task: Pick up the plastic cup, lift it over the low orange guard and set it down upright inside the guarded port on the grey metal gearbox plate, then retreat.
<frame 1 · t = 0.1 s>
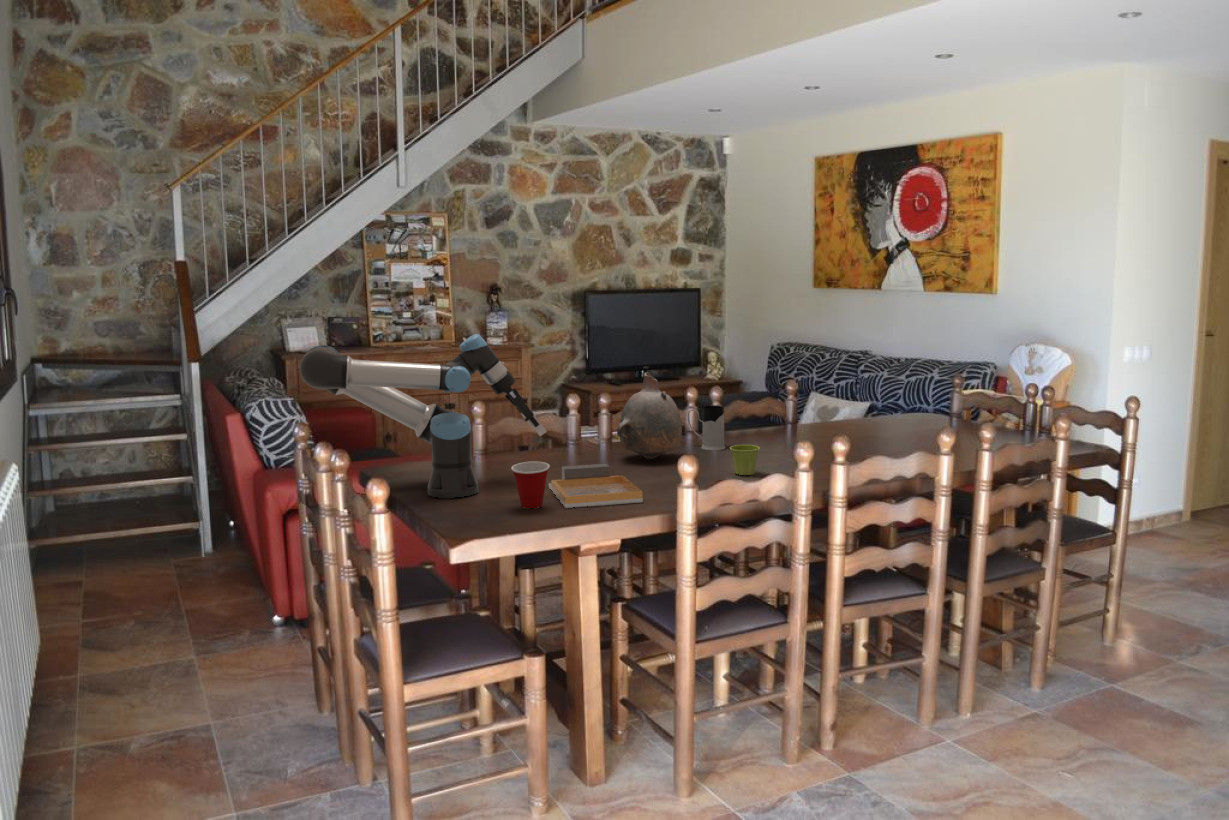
hand: (539, 430, 319), 15 cm above the table, tool tilted 35°, fingers open, 13 cm apart
plant pot: (744, 474, 321), on the table
plastic cup: (531, 507, 284), on the table
jug: (651, 460, 347), on the table
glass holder: (706, 447, 367), on the table
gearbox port: (595, 496, 295), on the table
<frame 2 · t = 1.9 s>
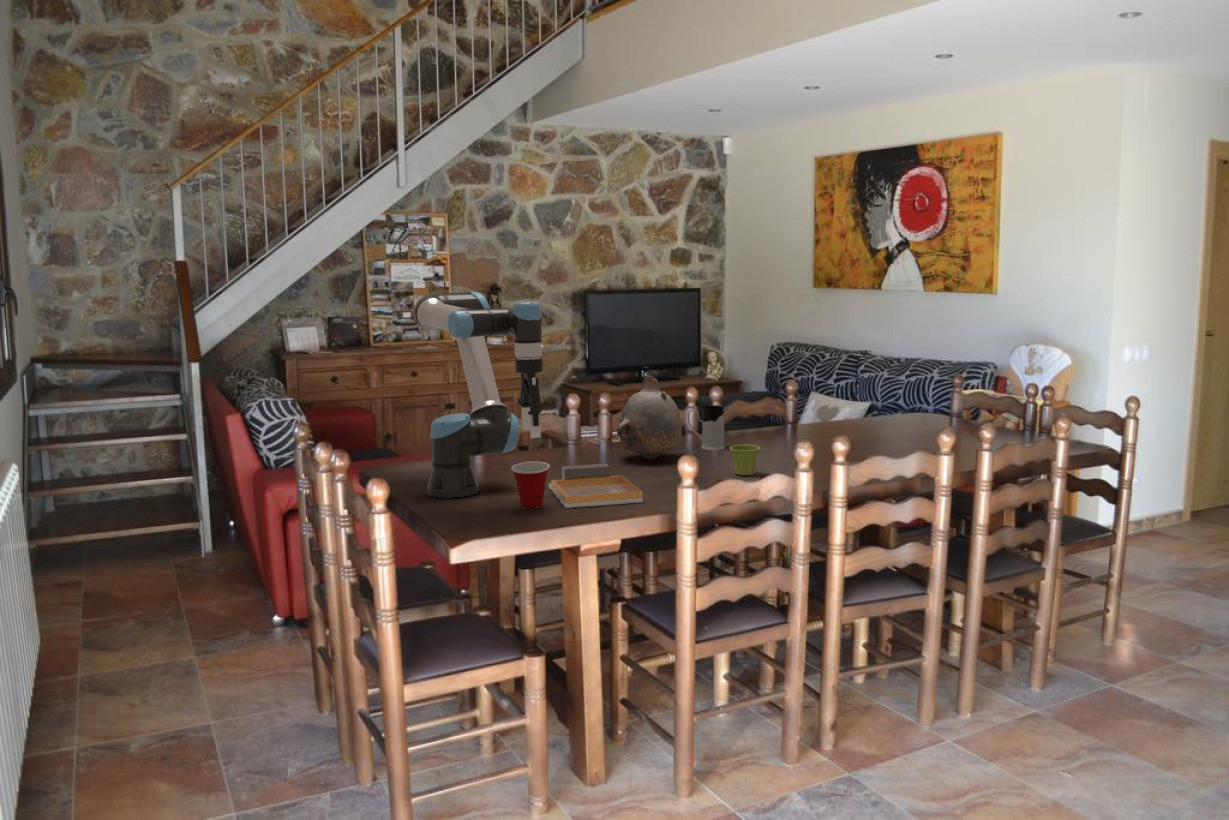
hand: (531, 433, 281), 21 cm above the table, tool pointing down, fingers open, 13 cm apart
nothing on the table moved.
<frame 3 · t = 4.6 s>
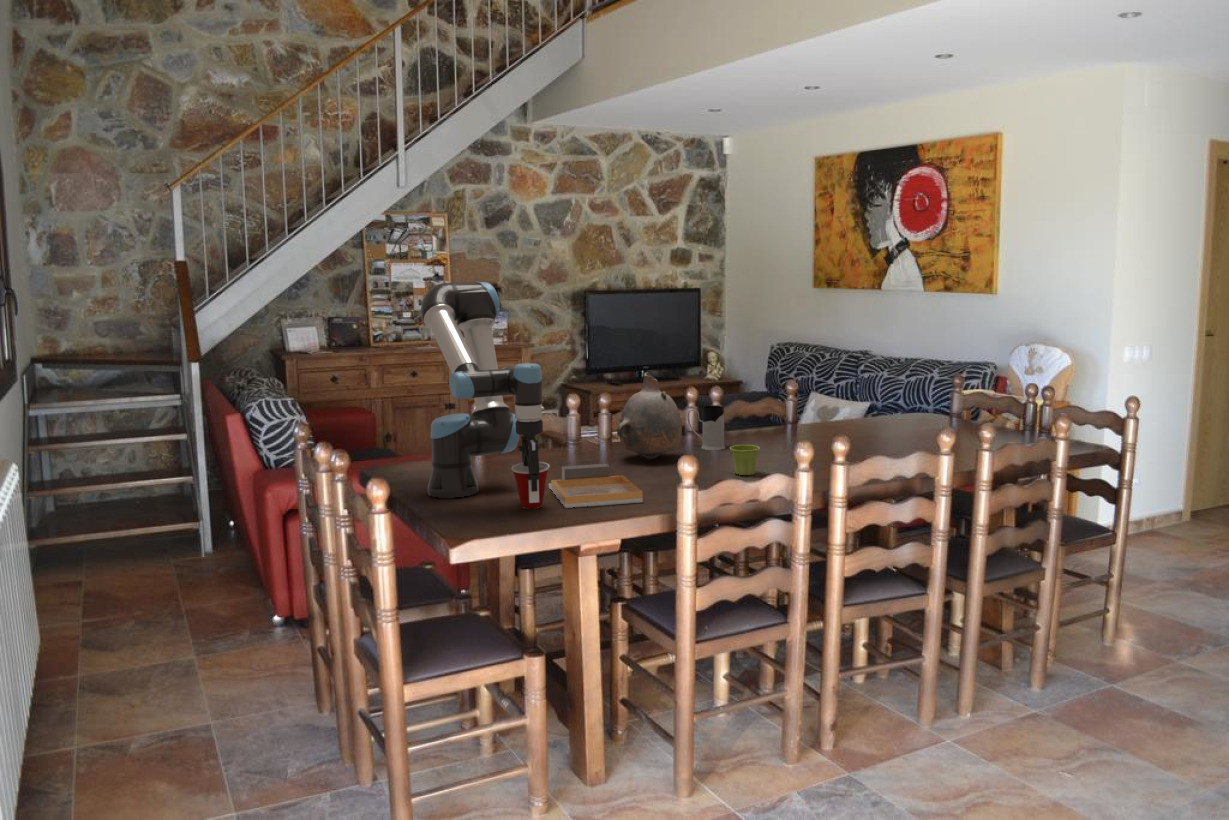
hand: (531, 498, 283), 3 cm above the table, tool pointing down, fingers closed on plastic cup, 9 cm apart
plastic cup: (531, 507, 284), on the table, touching gripper
everything else where it was.
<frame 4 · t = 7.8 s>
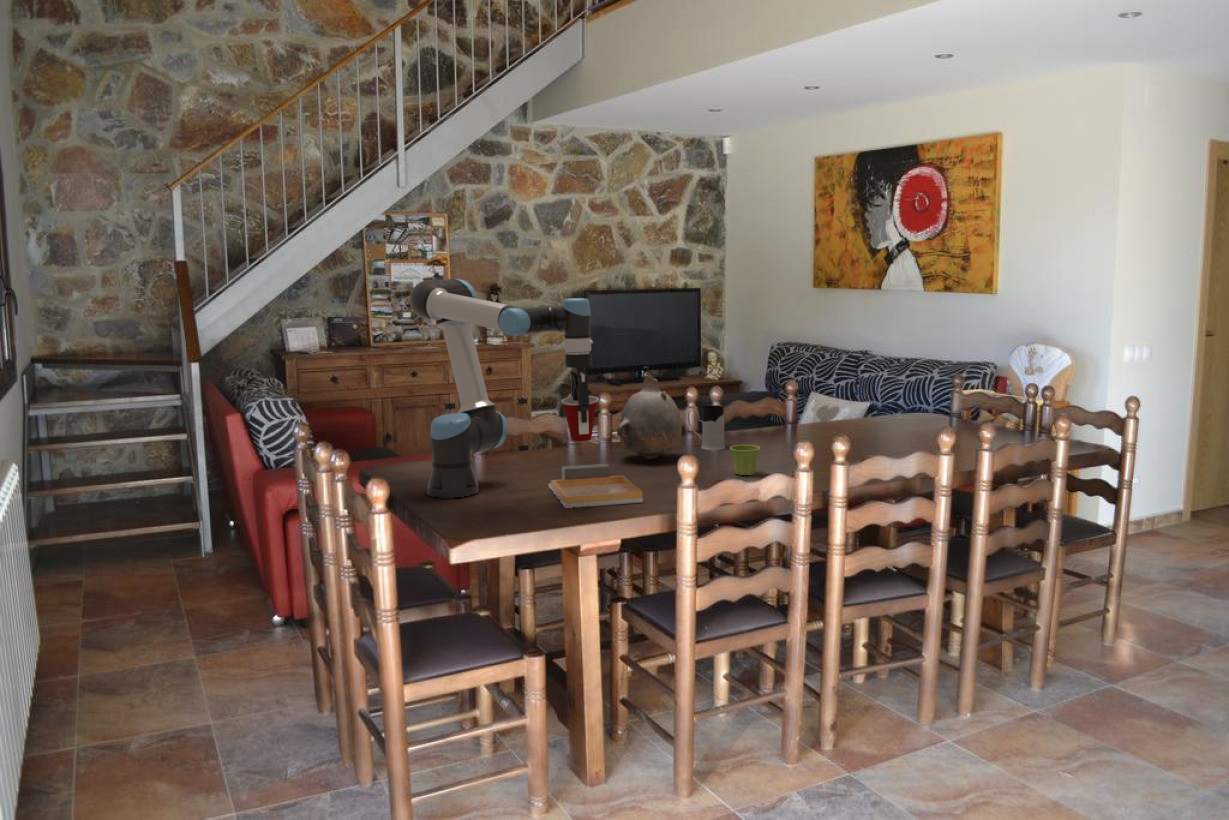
hand: (580, 431, 289), 20 cm above the table, tool pointing down, fingers closed on plastic cup, 9 cm apart
plastic cup: (581, 440, 289), point 17 cm above the table, touching gripper
everything else where it was.
when the fingers open (4 cm above the table, at t = 11.4 s): plastic cup moves 3 cm, resting on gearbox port.
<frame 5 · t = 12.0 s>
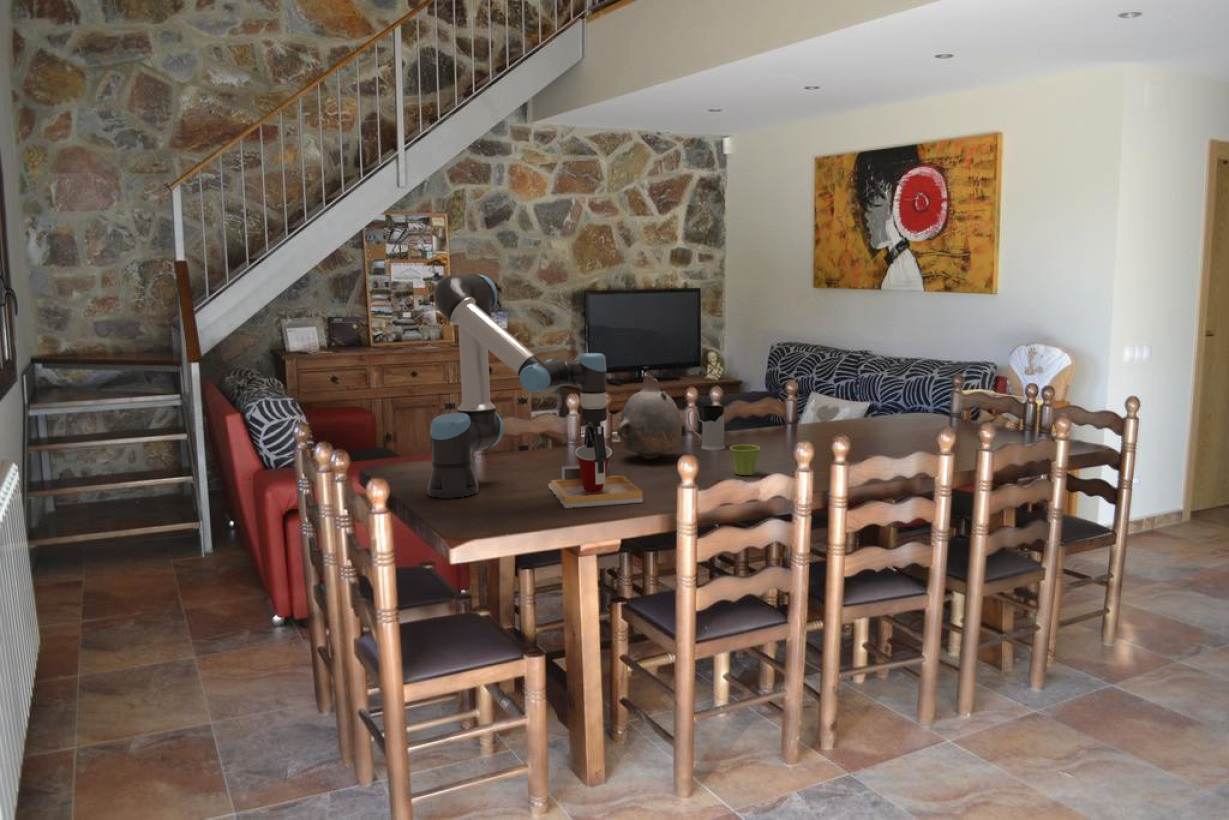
hand: (595, 479, 294), 5 cm above the table, tool pointing down, fingers open, 13 cm apart
plastic cup: (593, 489, 298), point 1 cm above the table, touching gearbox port, gripper
everything else where it was.
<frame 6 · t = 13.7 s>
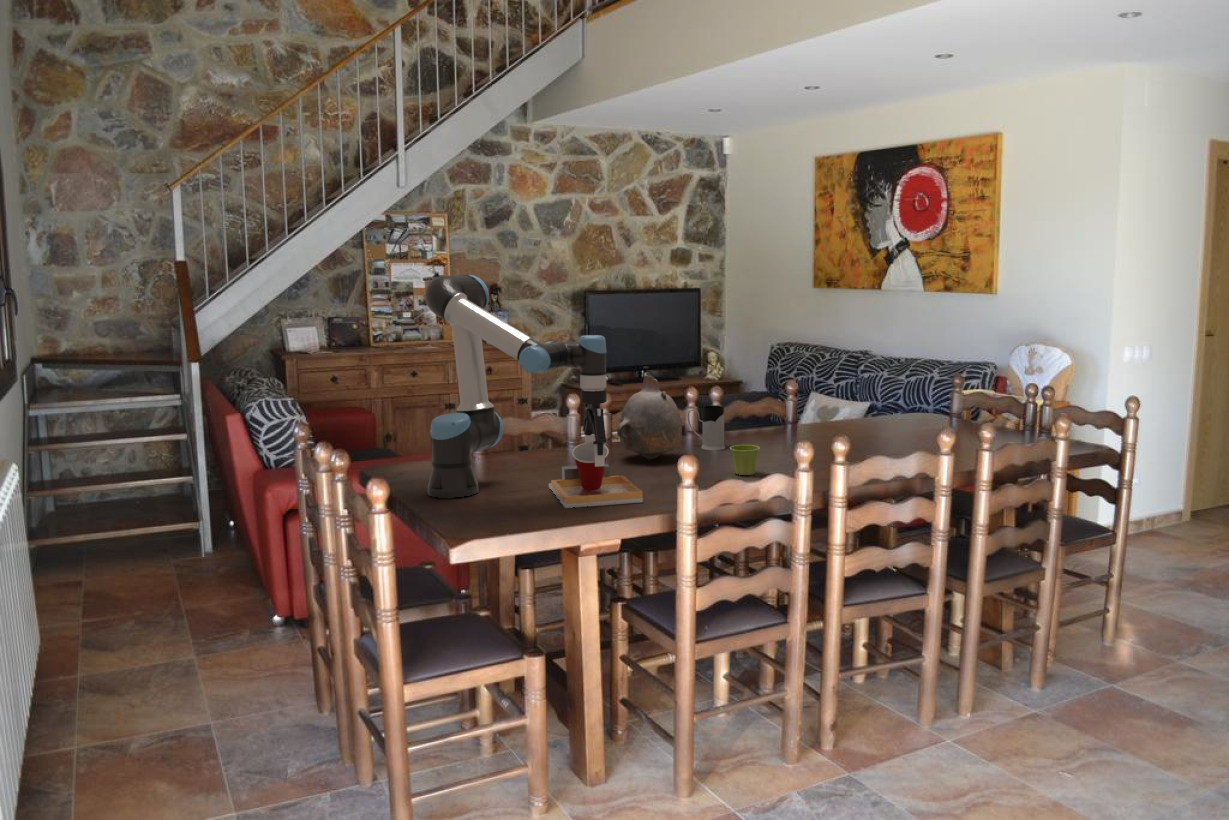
hand: (594, 461, 294), 10 cm above the table, tool pointing down, fingers open, 13 cm apart
plastic cup: (591, 487, 299), point 2 cm above the table, touching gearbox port
everything else where it was.
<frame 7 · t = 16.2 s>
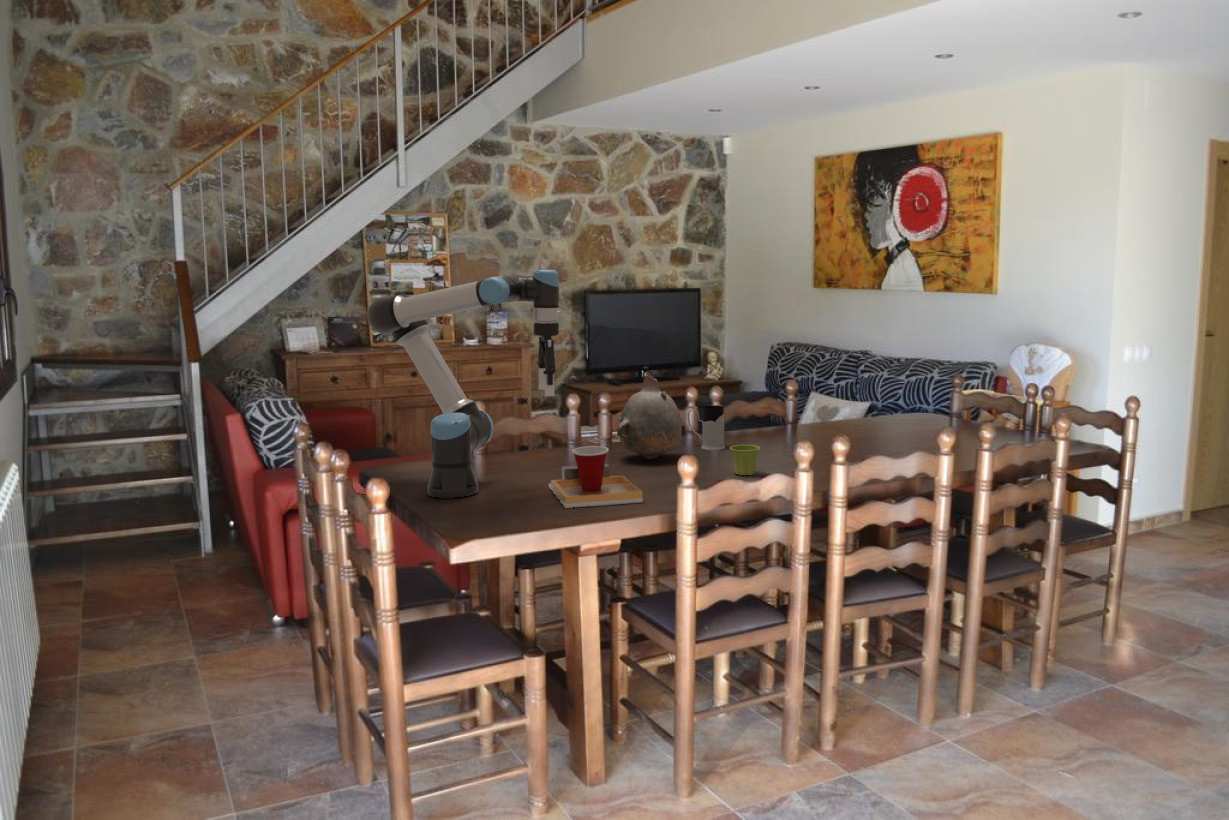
hand: (546, 392, 303), 29 cm above the table, tool pointing down, fingers open, 13 cm apart
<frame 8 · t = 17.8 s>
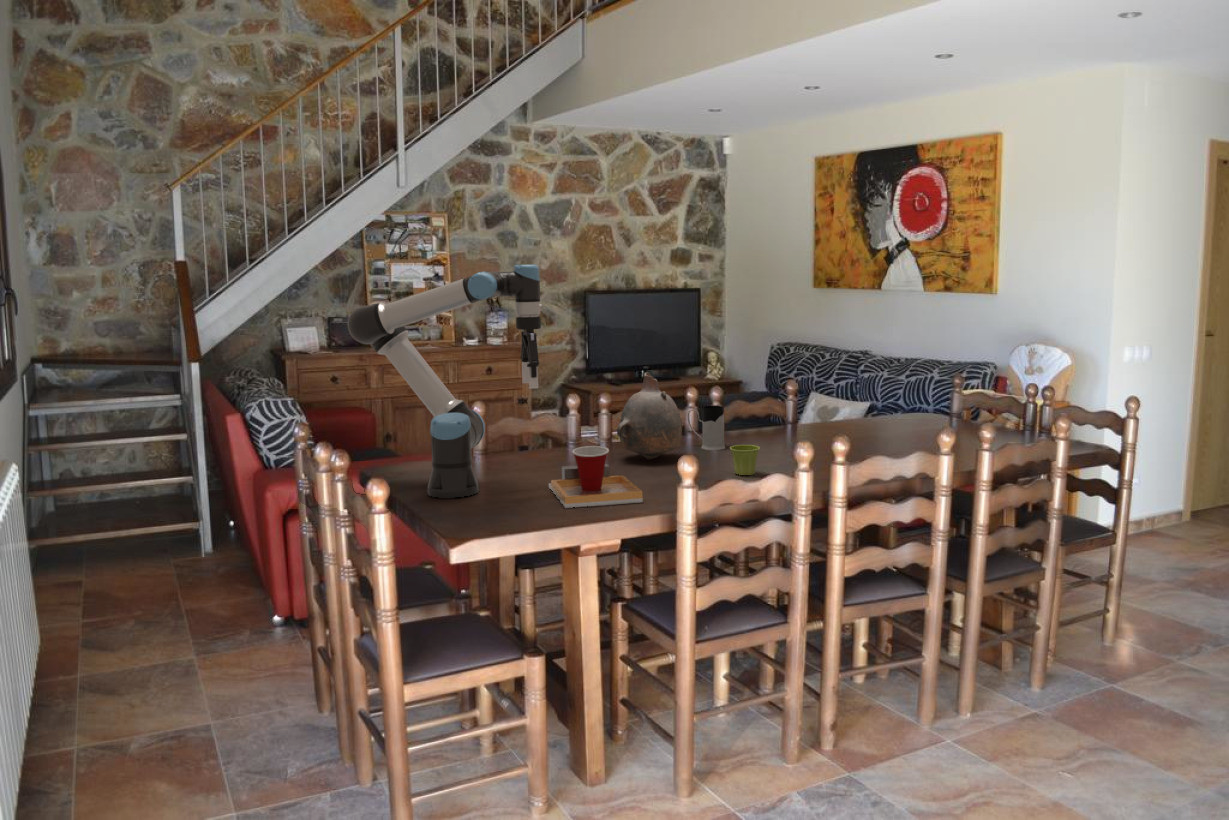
hand: (530, 385, 308), 31 cm above the table, tool pointing down, fingers open, 13 cm apart
at the end: plastic cup inside the target area on the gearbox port (4.5 cm from its centre), point 1.0 cm above the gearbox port's base; plastic cup tilted 0°; the gripper is holding nothing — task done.
